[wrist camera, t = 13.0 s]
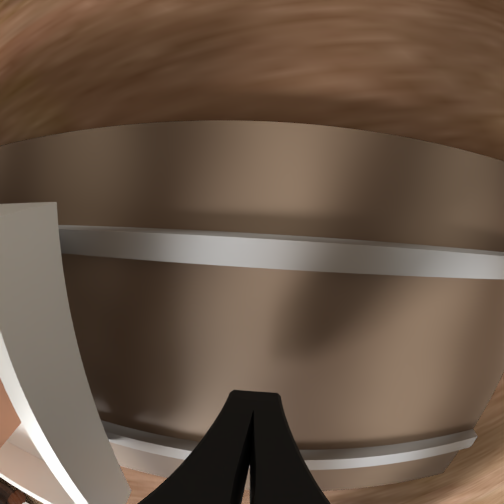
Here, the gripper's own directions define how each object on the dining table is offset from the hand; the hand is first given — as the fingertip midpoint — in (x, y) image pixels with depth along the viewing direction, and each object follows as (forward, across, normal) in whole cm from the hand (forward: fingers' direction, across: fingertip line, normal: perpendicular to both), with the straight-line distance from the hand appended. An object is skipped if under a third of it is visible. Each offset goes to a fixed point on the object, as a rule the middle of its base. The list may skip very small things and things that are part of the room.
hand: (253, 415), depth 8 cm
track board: (+3, +4, 0) cm, 5 cm away
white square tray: (+1, +11, 0) cm, 11 cm away
